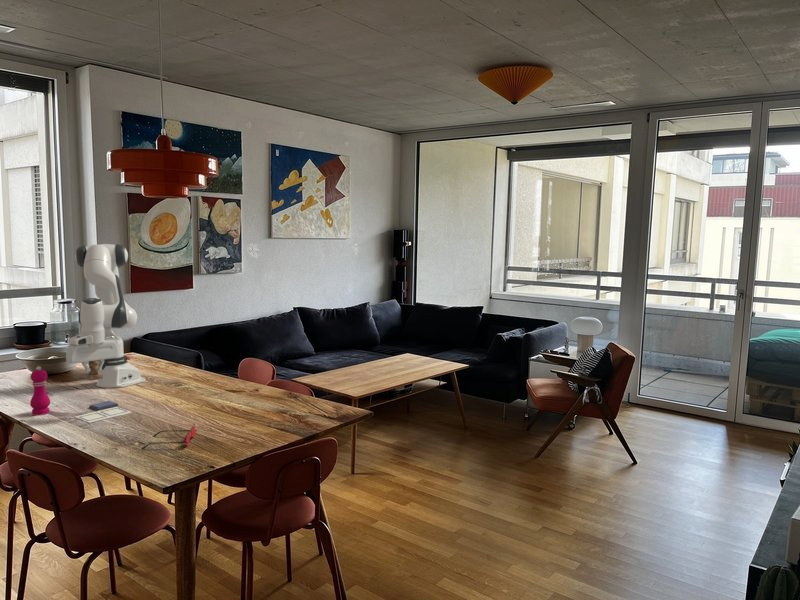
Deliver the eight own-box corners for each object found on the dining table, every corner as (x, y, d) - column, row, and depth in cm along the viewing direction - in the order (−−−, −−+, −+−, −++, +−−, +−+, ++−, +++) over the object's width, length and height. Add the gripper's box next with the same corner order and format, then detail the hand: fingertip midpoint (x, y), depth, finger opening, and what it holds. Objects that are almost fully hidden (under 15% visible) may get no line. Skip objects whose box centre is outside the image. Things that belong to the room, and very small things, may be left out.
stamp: (96, 376, 252) (96, 356, 252) (102, 378, 249) (102, 358, 249) (84, 378, 248) (84, 358, 248) (90, 380, 245) (90, 359, 245)
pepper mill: (30, 416, 247) (27, 368, 245) (31, 411, 254) (29, 365, 252) (50, 414, 251) (48, 367, 248) (51, 409, 257) (49, 363, 255)
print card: (116, 407, 262) (116, 406, 262) (131, 412, 255) (131, 411, 255) (74, 417, 248) (74, 416, 248) (89, 423, 241) (89, 422, 241)
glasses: (188, 449, 216) (188, 436, 215) (140, 450, 214) (140, 436, 214) (197, 436, 230) (197, 423, 229) (152, 437, 228) (152, 424, 228)
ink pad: (109, 403, 269) (109, 400, 268) (118, 406, 264) (118, 403, 264) (89, 407, 261) (89, 404, 261) (97, 410, 257) (97, 407, 257)
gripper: (113, 334, 258) (113, 366, 259) (63, 340, 241) (64, 374, 242) (121, 336, 254) (121, 368, 255) (71, 341, 238) (72, 376, 239)
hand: (93, 371), depth 249 cm, fingers closed on stamp, 3 cm apart
